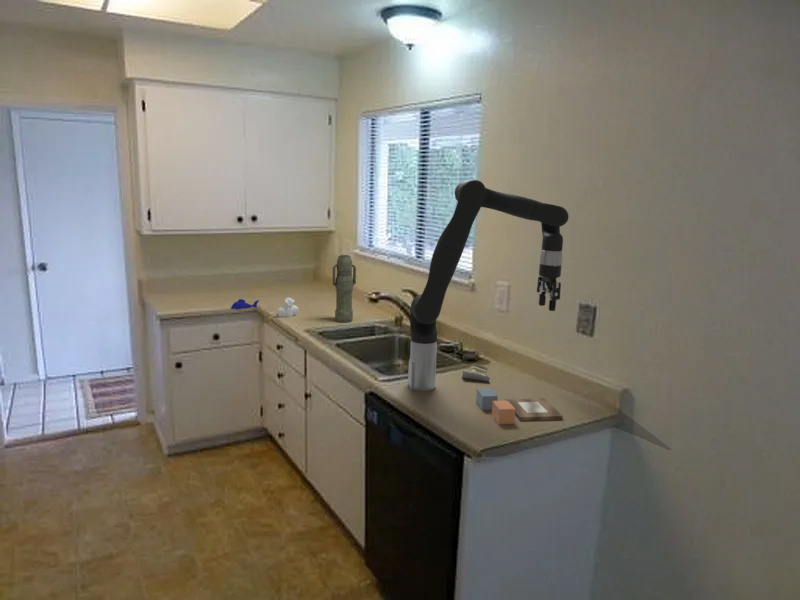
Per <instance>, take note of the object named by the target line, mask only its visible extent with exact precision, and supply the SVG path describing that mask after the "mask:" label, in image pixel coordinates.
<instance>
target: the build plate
mask: <svg viewBox="0 0 800 600" xmlns="http://www.w3.org/2000/svg"><path fill="white" fill-rule="evenodd" d="M507 400H508V401H509V402H510V404H511V405H512V406H513V407H514V408H515V418H517V420H518V421H519V422H522V421H524V422H525V421H526V422H527V421H528V422H529V421H555V420H556V421H557V420H559V421H561V420H563V417H564V416H563V415H562V413H560V412H559V411H558V409H556V408H555V407H554V406H553V405H552V404H551V403H550V402H549V401H548V400H547V399H545V398H517V399H516V398H515V399H514V398H513V399H512V398H511V399H510V398H508V399H504V400H503V401H507Z"/></svg>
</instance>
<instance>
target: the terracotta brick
mask: <svg viewBox="0 0 800 600" xmlns="http://www.w3.org/2000/svg"><path fill="white" fill-rule="evenodd" d="M491 416H492V417H493V419H494V421H496V423H497V425H514V424H515V418H516V416H515V408H514V407H513V406H512V405H511V404H510V402H509V401H508V400H507V401H504V400H497V401H492V410H491Z"/></svg>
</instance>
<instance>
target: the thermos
mask: <svg viewBox="0 0 800 600" xmlns="http://www.w3.org/2000/svg"><path fill="white" fill-rule="evenodd" d="M356 284H357V267H356V266H355V264H353V260H352V256H351V255H347V254H340V255H339V256H338V258H337V260H336V263H335V264H334V265H333V266H332V286H335V292H336V293H335V295H336V297H335V300H336V301H335V302H336V304H335V306H336V307H335V310H334V319H335V322H337V323H341V324H349V323H352V322H353V319H354V317H353V316H354V311H353V307H352V306H353V292H354V291H353V290H354V286H355V285H356Z"/></svg>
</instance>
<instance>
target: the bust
mask: <svg viewBox="0 0 800 600" xmlns="http://www.w3.org/2000/svg"><path fill="white" fill-rule="evenodd" d="M295 302H296V300H295V299H294V298H292V297H286V298H285V300H284V304H283V305H281V306H279V307H278V308H277V315H278V317H279V318H290V316H291V317H294V316H297V315H298V313H299V311H300V308H299V307H298V306H297V305H295V304H294V303H295ZM293 315H294V316H293Z"/></svg>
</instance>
